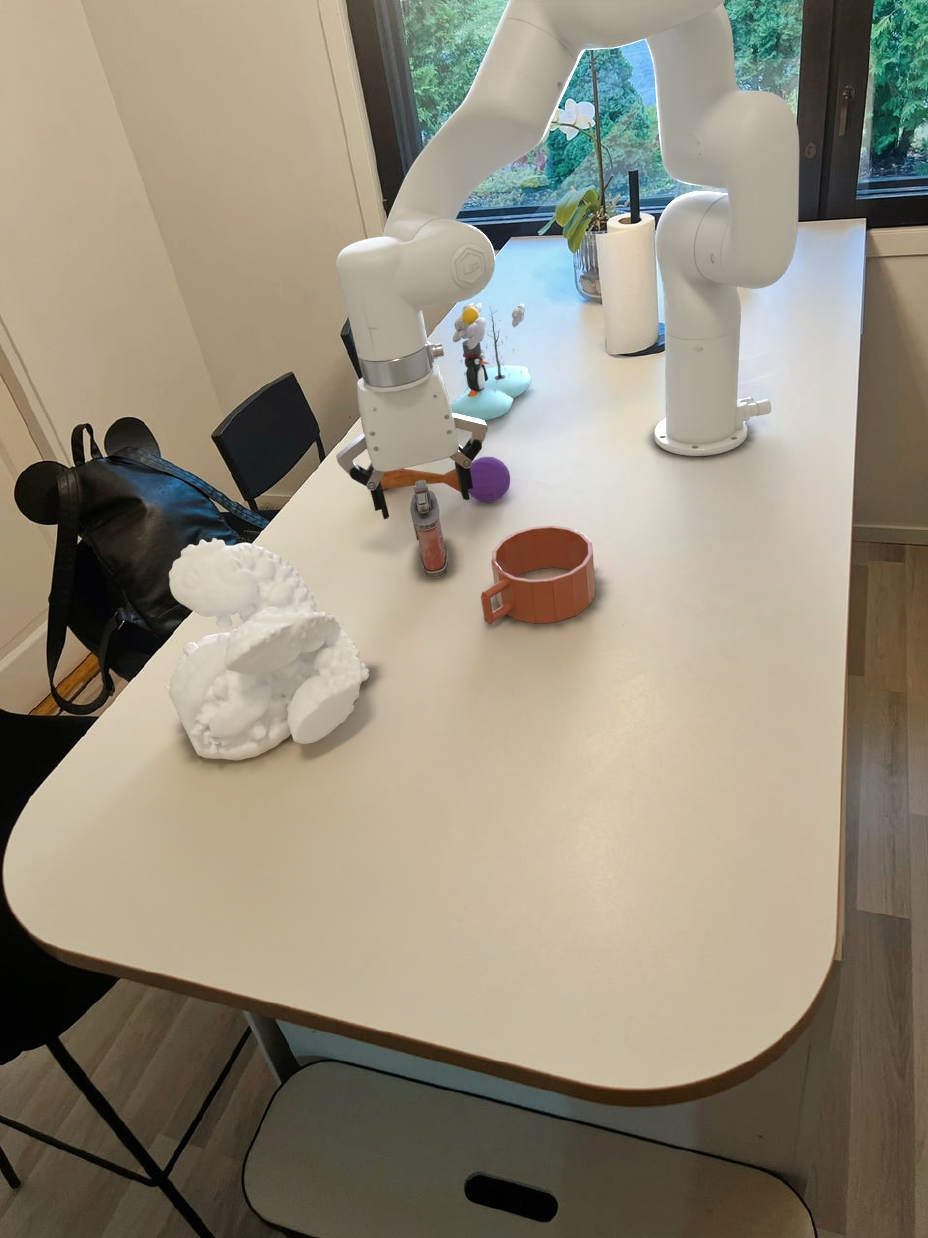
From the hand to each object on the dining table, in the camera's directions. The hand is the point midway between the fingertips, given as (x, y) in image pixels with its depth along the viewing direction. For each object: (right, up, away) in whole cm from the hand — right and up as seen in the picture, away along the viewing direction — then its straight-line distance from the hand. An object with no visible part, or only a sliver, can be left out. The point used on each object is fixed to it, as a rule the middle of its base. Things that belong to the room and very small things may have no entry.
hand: (425, 504), depth 103 cm
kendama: (+2, +4, +18) cm, 18 cm away
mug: (+13, -12, -5) cm, 18 cm away
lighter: (+1, -6, +5) cm, 8 cm away
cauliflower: (-13, -23, -14) cm, 30 cm away
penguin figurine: (+9, +23, +41) cm, 48 cm away
